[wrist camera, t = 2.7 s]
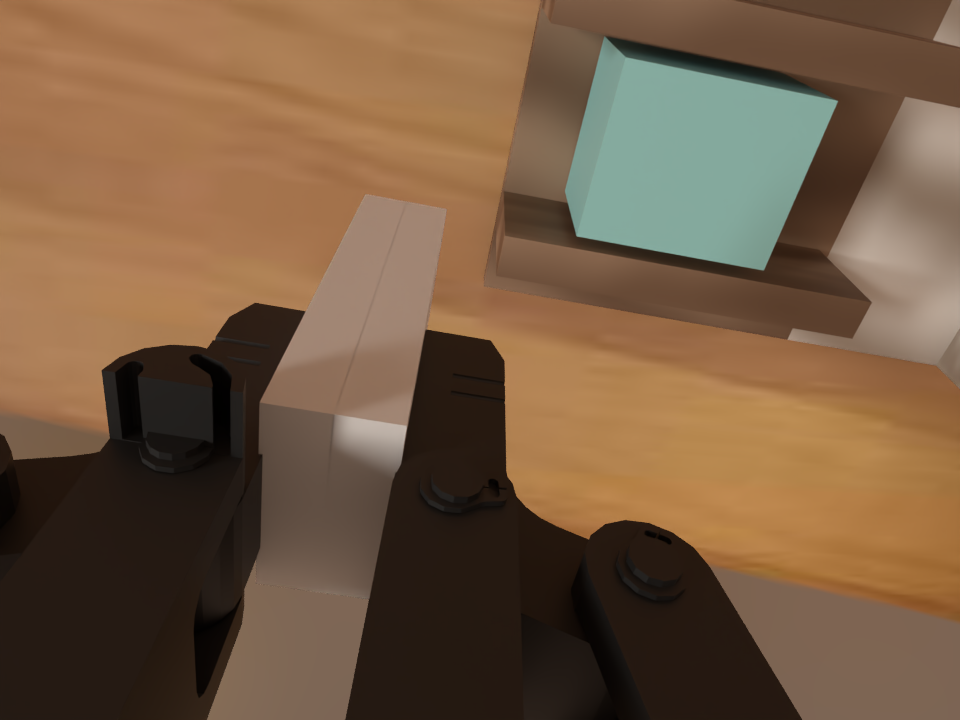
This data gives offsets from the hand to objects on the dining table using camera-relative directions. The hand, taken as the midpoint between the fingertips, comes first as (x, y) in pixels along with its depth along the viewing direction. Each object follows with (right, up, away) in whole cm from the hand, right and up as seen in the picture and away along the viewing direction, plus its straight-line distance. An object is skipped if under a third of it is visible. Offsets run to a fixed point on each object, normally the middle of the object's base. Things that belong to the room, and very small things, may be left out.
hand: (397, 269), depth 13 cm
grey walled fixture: (+14, +7, +16) cm, 22 cm away
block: (+9, +7, +14) cm, 19 cm away
